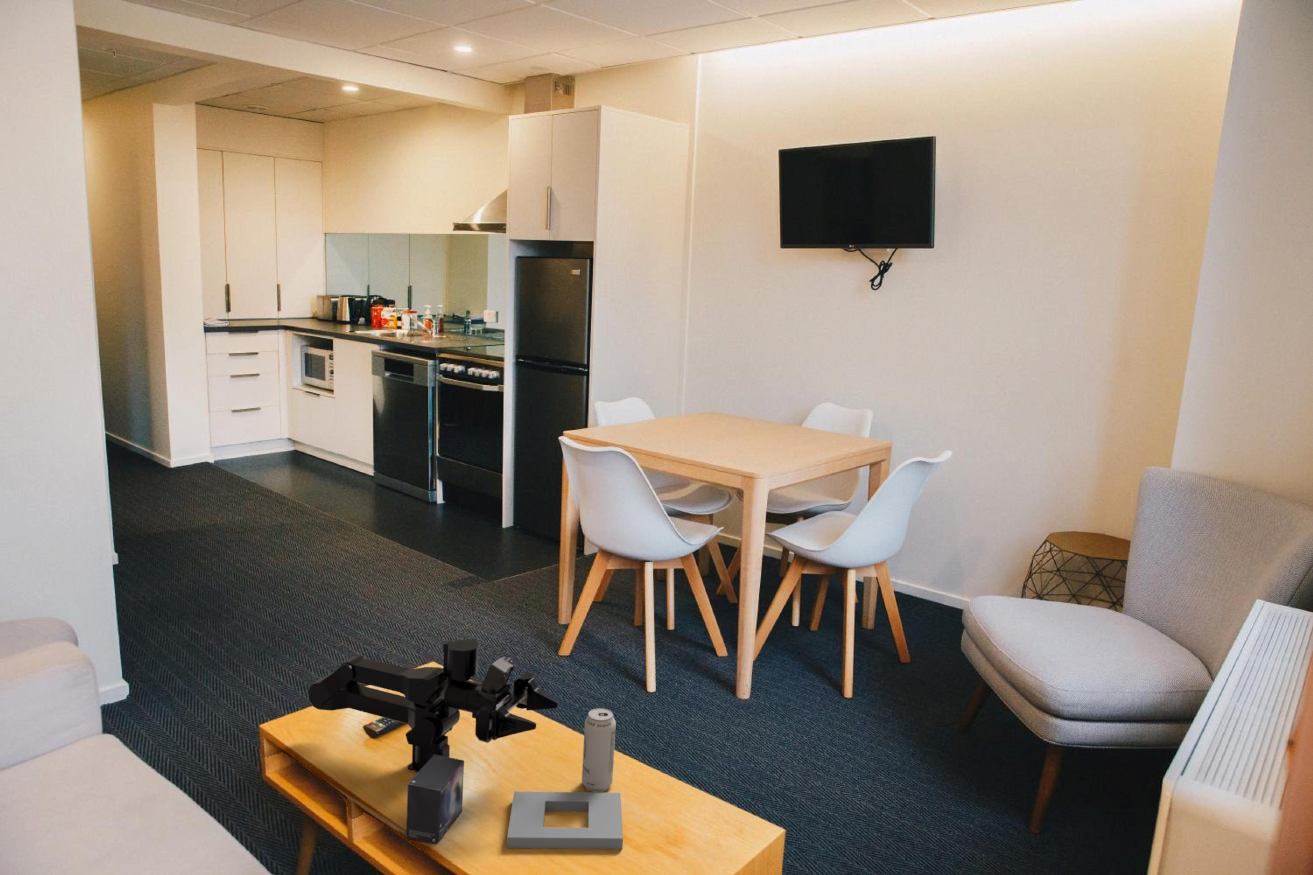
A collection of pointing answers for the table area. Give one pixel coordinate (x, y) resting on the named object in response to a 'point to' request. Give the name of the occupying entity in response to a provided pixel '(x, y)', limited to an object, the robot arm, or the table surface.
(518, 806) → the hole board
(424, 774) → the small box
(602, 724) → the energy drink can
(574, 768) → the table surface
